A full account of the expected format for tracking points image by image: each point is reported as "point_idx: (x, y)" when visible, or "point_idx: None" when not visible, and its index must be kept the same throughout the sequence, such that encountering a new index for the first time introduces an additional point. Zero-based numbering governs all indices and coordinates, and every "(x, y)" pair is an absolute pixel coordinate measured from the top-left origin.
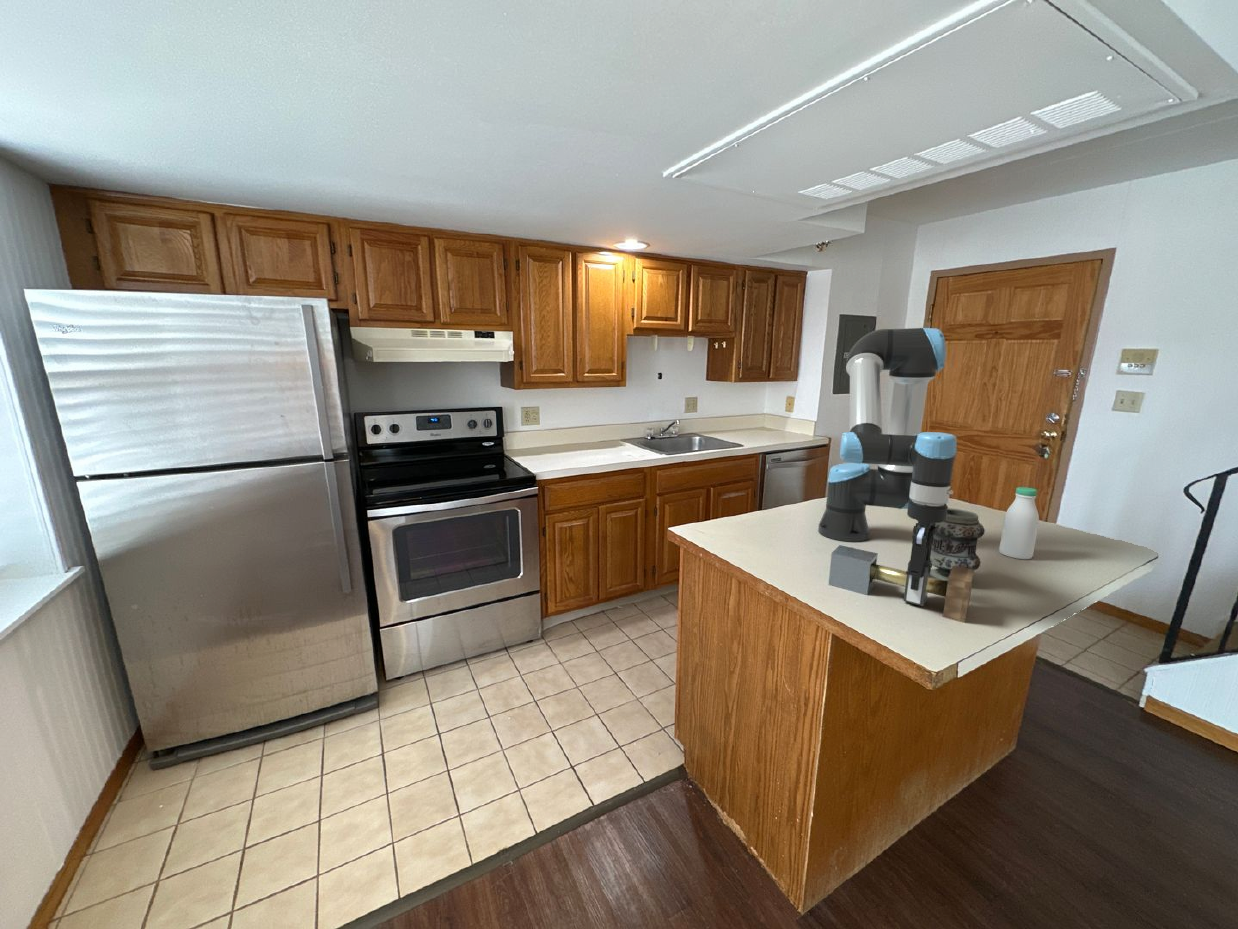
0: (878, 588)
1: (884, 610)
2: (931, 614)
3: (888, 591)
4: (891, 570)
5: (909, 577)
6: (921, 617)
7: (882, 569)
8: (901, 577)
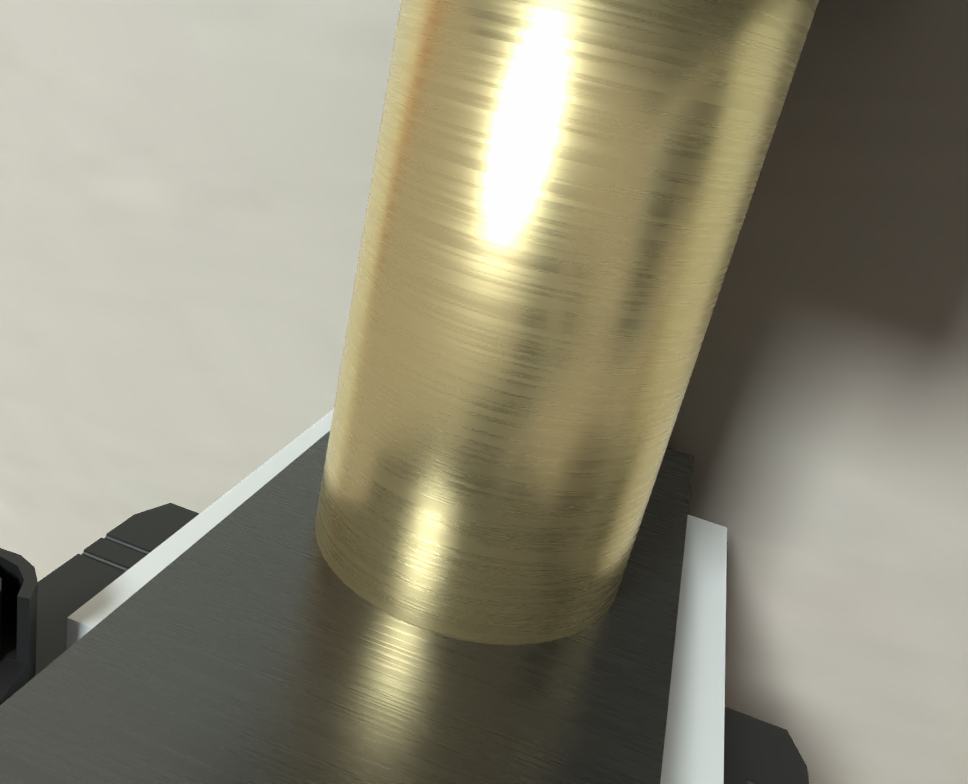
0: (814, 44)
1: (108, 117)
2: None
3: None
4: (413, 267)
5: (118, 579)
6: (165, 484)
7: (432, 32)
8: (329, 440)
